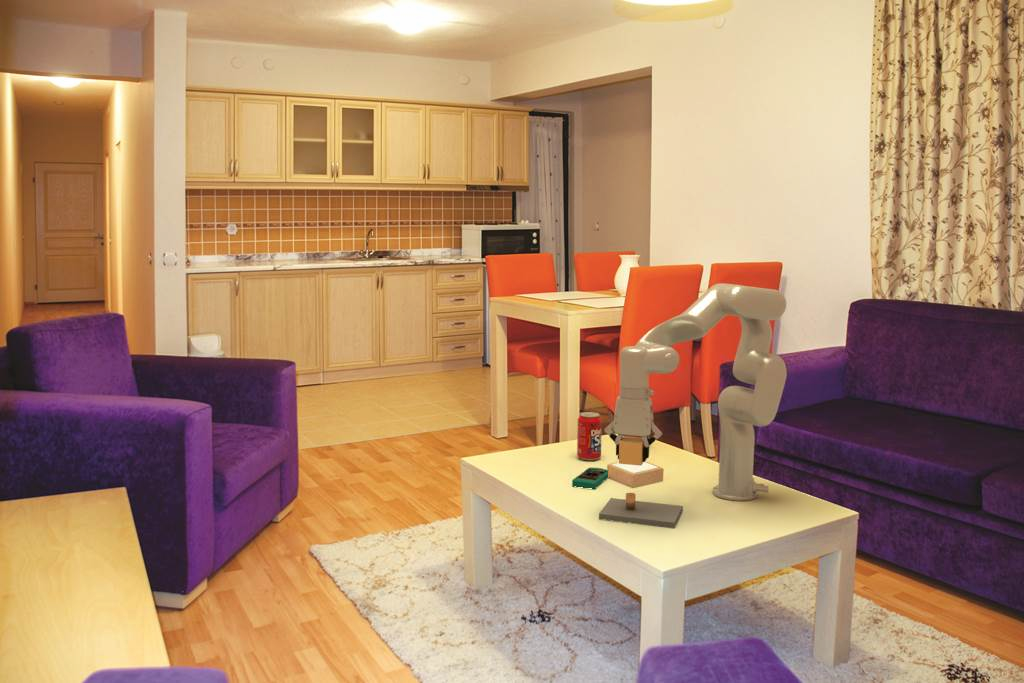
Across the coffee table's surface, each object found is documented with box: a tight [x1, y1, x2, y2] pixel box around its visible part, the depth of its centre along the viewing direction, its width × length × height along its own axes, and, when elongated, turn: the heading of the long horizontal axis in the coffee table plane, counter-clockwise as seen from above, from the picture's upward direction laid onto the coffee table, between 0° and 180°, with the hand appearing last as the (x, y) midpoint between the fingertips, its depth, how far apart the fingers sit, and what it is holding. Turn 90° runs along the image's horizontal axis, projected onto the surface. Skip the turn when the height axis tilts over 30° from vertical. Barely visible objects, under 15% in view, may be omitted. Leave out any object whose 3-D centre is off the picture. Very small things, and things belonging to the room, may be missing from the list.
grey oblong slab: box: [598, 497, 684, 529], centre depth 244 cm, size 20×14×2 cm
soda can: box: [576, 411, 603, 462], centre depth 297 cm, size 8×8×15 cm
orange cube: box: [618, 436, 644, 467], centre depth 242 cm, size 6×6×6 cm
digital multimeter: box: [571, 467, 609, 490], centre depth 273 cm, size 7×15×3 cm, turn 155°
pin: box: [625, 492, 637, 510], centre depth 244 cm, size 3×3×4 cm
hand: (632, 458), depth 242 cm, fingers closed on orange cube, 5 cm apart
